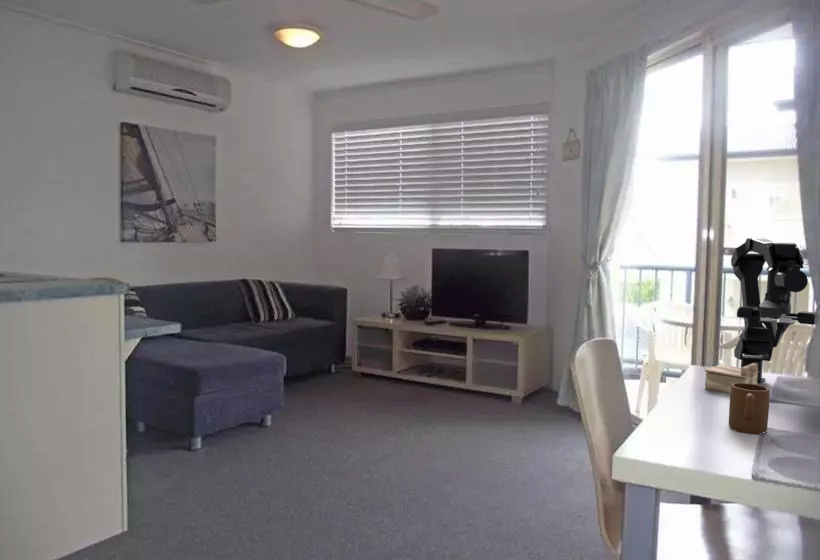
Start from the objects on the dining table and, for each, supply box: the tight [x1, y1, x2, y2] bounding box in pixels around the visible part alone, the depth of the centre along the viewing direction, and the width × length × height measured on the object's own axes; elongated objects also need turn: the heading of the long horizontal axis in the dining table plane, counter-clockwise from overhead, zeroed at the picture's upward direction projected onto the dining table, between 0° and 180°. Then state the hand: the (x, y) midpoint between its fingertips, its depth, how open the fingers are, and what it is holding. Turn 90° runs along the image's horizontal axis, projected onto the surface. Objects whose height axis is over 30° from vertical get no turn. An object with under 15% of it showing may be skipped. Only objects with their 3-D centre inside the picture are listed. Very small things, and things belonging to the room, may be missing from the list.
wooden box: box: [704, 372, 758, 394], centre depth 185 cm, size 11×10×4 cm
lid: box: [704, 363, 759, 378], centre depth 184 cm, size 11×10×2 cm
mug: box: [728, 383, 771, 435], centre depth 144 cm, size 12×8×9 cm, turn 153°
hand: (774, 347), depth 181 cm, fingers closed
